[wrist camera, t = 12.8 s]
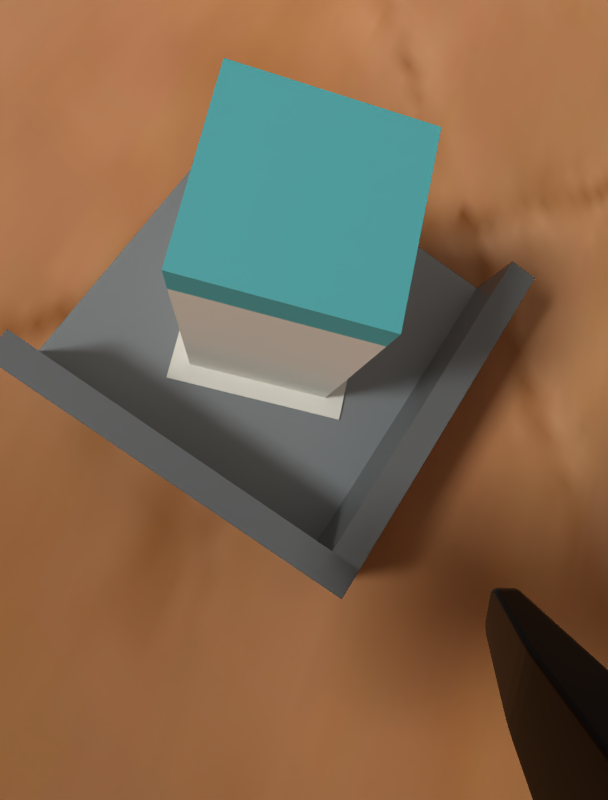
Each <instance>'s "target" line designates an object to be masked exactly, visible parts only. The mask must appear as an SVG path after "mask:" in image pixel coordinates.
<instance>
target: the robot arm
mask: <svg viewBox="0 0 608 800" xmlns="http://www.w3.org/2000/svg"><path fill="white" fill-rule="evenodd" d="M485 627H486V636H487V640H488V644H489V649H490V653H491V657H492V661H493V666H494V670H495V674H496V678H497V683H498V687H499V691H500V695H501V700H502V704H503V708H504V712H505V716H506V720H507V724H508V728H509V731H510V734H511V737H512V740H513V743H514V746H515V749H516V752H517V755H518V758H519V761H520V764H521V767H522V769H523V772H524V775H525V778H526V781H527V784H528V787H529V790H530V793H531V796H532V798H533V800H608V670H607V669H606V668H605V667H604V666H603V665H602V664H600V663H599V662H598V661H597V660H596V659H595V658H594V657H593V656H592V655H590V654H589V653H588V652H587V651H586V650H585V649H584V648H583V647H582V646H580V645H579V644H578V643H577V642H576V641H575V640H574V639H573V638H572V637H571V636H569V635H568V634H567V633H566V632H565V631H564V630H563V629H562V628H561V627H559V626H558V625H557V624H556V623H555V622H554V621H553V620H552V619H551V618H549V617H548V616H547V615H546V614H545V613H544V612H543V611H542V610H541V609H540V608H538V607H537V606H536V605H535V604H534V603H533V602H532V601H531V600H530V599H528V598H527V597H526V596H525V595H524V594H523V593H522V592H521V591H519V590H517V589H515V588H496V589H494V590H493V591H492V592H491V595H490V601H489V606H488V611H487V617H486V624H485Z"/></svg>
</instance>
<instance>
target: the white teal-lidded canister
mask: <svg viewBox="0 0 608 800" xmlns="http://www.w3.org/2000/svg"><path fill="white" fill-rule="evenodd" d="M440 131H441V127H439V126H436V125H433V124H430V123H427V122H424V121H421V120H417V119H414V118H411V117H408V116H405V115H402V114H399V113H395V112H392V111H389V110H386V109H383V108H380V107H377V106H373V105H370V104H367V103H364V102H361V101H358V100H354V99H351V98H348V97H345V96H342V95H339V94H336V93H332V92H329V91H326V90H323V89H320V88H317V87H314V86H310V85H307V84H304V83H301V82H298V81H295V80H292V79H288V78H285V77H282V76H279V75H276V74H273V73H269V72H266V71H263V70H260V69H257V68H254V67H251V66H247V65H244V64H241V63H238V62H235V61H232V60H229V59H225V58H224V59H223V62H222V65H221V69H220V72H219V76H218V79H217V83H216V86H215V89H214V93H213V96H212V100H211V103H210V106H209V110H208V113H207V117H206V120H205V123H204V127H203V130H202V134H201V137H200V140H199V144H198V147H197V151H196V154H195V157H194V161H193V164H192V168H191V171H190V174H189V178H188V181H187V185H186V188H185V191H184V195H183V198H182V202H181V205H180V208H179V212H178V215H177V219H176V222H175V225H174V229H173V232H172V236H171V239H170V243H169V246H168V249H167V253H166V256H165V260H164V263H163V266H162V274H163V277H164V280H165V284H166V287H167V290H168V294H169V297H170V300H171V303H172V307H173V310H174V313H175V317H176V320H177V323H178V327H179V330H180V333H181V337H182V340H183V343H184V347H185V350H186V353H187V356H188V360H189V363H190V364H191V365H195V366H199V367H203V368H207V369H211V370H215V371H219V372H223V373H227V374H231V375H235V376H239V377H243V378H247V379H251V380H255V381H259V382H263V383H267V384H271V385H275V386H279V387H283V388H287V389H291V390H295V391H299V392H303V393H307V394H311V395H315V396H319V397H323V398H326V397H327V396H328V395H329V394H330V393H332V392H333V391H334V390H335V389H336V388H338V387H339V386H340V385H341V384H342V383H344V382H345V381H346V380H347V379H348V378H349V377H351V376H352V375H353V374H354V373H355V372H357V371H358V370H359V369H360V368H361V367H363V366H364V365H365V364H366V363H367V362H369V361H370V360H371V359H372V358H373V357H375V356H376V355H377V354H378V353H379V352H380V351H382V350H383V349H384V348H385V347H386V346H388V345H389V344H390V343H391V342H392V341H394V340H395V339H396V338H397V337H398V336H400V335H401V332H402V327H403V321H404V316H405V311H406V306H407V301H408V296H409V291H410V285H411V280H412V275H413V270H414V265H415V260H416V255H417V250H418V244H419V239H420V234H421V229H422V224H423V219H424V214H425V208H426V203H427V198H428V193H429V188H430V183H431V178H432V172H433V167H434V162H435V157H436V152H437V147H438V142H439V136H440Z"/></svg>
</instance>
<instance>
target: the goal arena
mask: <svg viewBox="0 0 608 800" xmlns="http://www.w3.org/2000/svg"><path fill="white" fill-rule="evenodd" d="M190 171H191V170H190ZM190 171H189V172H188V173H187V174H186V176H185V177H184V178H183V179H182V180H181V182H180V183H179V184H178V185H177V186H176V188H175V189H174V190H173V191H172V192H171V194H170V195H169V196H168V197H167V198H166V199H165V201H164V202H163V203H162V204H161V205H160V207H159V208H158V209H157V210H156V211H155V213H154V214H153V215H152V216H151V217H150V219H149V220H148V221H147V222H146V223H145V225H144V226H143V227H142V228H141V229H140V230H139V232H138V233H137V234H136V235H135V236H134V238H133V239H132V240H131V241H130V242H129V244H128V245H127V246H126V247H125V248H124V250H123V251H122V252H121V253H120V254H119V255H118V257H117V258H116V259H115V260H114V261H113V263H112V264H111V265H110V266H109V267H108V269H107V270H106V271H105V272H104V273H103V275H102V276H101V277H100V278H99V279H98V281H97V282H96V283H95V284H94V285H93V286H92V288H91V289H90V290H89V291H88V292H87V294H86V295H85V296H84V297H83V298H82V300H81V301H80V302H79V303H78V304H77V306H76V307H75V308H74V309H73V310H72V312H71V313H70V314H69V315H68V316H67V317H66V319H65V320H64V321H63V322H62V323H61V325H60V326H59V327H58V328H57V329H56V331H55V332H54V333H53V334H52V335H51V337H50V338H49V339H48V340H47V341H46V343H45V344H44V345H43V346H42V347H41V348H40V350H39V351H38V350H37V349H35V348H34V347H32V346H31V345H29V344H28V343H26V342H25V341H24V340H22V339H21V338H19V337H18V336H16V335H15V334H13V333H12V332H10V331H9V330H6V331H5V332H4V334H3V335H2V336H1V337H0V367H1V368H2V369H4V370H5V371H6V372H8V373H9V374H11V375H12V376H14V377H15V378H17V379H18V380H20V381H21V382H23V383H24V384H26V385H27V386H29V387H30V388H32V389H33V390H34V391H36V392H37V393H39V394H40V395H42V396H43V397H45V398H46V399H48V400H49V401H51V402H52V403H54V404H55V405H57V406H58V407H59V408H61V409H62V410H64V411H65V412H67V413H68V414H70V415H71V416H73V417H74V418H76V419H77V420H79V421H80V422H82V423H83V424H85V425H86V426H87V427H89V428H90V429H92V430H93V431H95V432H96V433H98V434H99V435H101V436H102V437H104V438H105V439H107V440H108V441H110V442H111V443H112V444H114V445H115V446H117V447H118V448H120V449H121V450H123V451H124V452H126V453H127V454H129V455H130V456H132V457H133V458H135V459H136V460H138V461H139V462H140V463H142V464H143V465H145V466H146V467H148V468H149V469H151V470H152V471H154V472H155V473H157V474H158V475H160V476H161V477H163V478H164V479H165V480H167V481H168V482H170V483H171V484H173V485H174V486H176V487H177V488H179V489H180V490H182V491H183V492H185V493H186V494H188V495H189V496H191V497H192V498H193V499H195V500H196V501H198V502H199V503H201V504H202V505H204V506H205V507H207V508H208V509H210V510H211V511H213V512H214V513H216V514H217V515H218V516H220V517H221V518H223V519H224V520H226V521H227V522H229V523H230V524H232V525H233V526H235V527H236V528H238V529H239V530H241V531H242V532H244V533H245V534H246V535H248V536H249V537H251V538H252V539H254V540H255V541H257V542H258V543H260V544H261V545H263V546H264V547H266V548H267V549H269V550H270V551H271V552H273V553H274V554H276V555H277V556H279V557H280V558H282V559H283V560H285V561H286V562H288V563H289V564H291V565H292V566H294V567H295V568H297V569H298V570H299V571H301V572H302V573H304V574H305V575H307V576H308V577H310V578H311V579H313V580H314V581H316V582H317V583H319V584H320V585H322V586H323V587H324V588H326V589H327V590H329V591H330V592H332V593H333V594H335V595H336V596H338V597H339V598H341V599H342V598H343V596H344V595H345V593H346V591H347V590H348V588H349V586H350V585H351V583H352V581H353V580H354V578H355V576H356V575H357V573H358V571H359V570H360V568H361V566H362V565H363V563H364V561H365V560H366V558H367V556H368V555H369V553H370V551H371V550H372V548H373V546H374V545H375V543H376V541H377V540H378V538H379V537H380V535H381V533H382V532H383V530H384V528H385V527H386V525H387V523H388V522H389V520H390V518H391V517H392V515H393V513H394V512H395V510H396V508H397V507H398V505H399V503H400V502H401V500H402V498H403V497H404V495H405V493H406V492H407V490H408V488H409V487H410V485H411V483H412V482H413V480H414V478H415V477H416V475H417V473H418V472H419V470H420V468H421V467H422V465H423V463H424V462H425V460H426V458H427V457H428V455H429V453H430V452H431V450H432V448H433V447H434V445H435V443H436V442H437V440H438V439H439V437H440V435H441V434H442V432H443V430H444V429H445V427H446V425H447V424H448V422H449V420H450V419H451V417H452V415H453V414H454V412H455V410H456V409H457V407H458V405H459V404H460V402H461V400H462V399H463V397H464V395H465V394H466V392H467V390H468V389H469V387H470V385H471V384H472V382H473V380H474V379H475V377H476V375H477V374H478V372H479V370H480V369H481V367H482V365H483V364H484V362H485V360H486V359H487V357H488V355H489V354H490V352H491V350H492V349H493V347H494V345H495V344H496V342H497V341H498V339H499V337H500V336H501V334H502V332H503V331H504V329H505V327H506V326H507V324H508V322H509V321H510V319H511V317H512V316H513V314H514V312H515V311H516V309H517V307H518V306H519V304H520V302H521V301H522V299H523V297H524V296H525V294H526V292H527V291H528V289H529V287H530V286H531V284H532V282H533V281H534V279H535V277H533V276H532V275H530V274H529V273H528V272H526V271H525V270H523V269H522V268H521V267H519V266H518V265H516V264H515V263H514V262H511V263H509V264H508V265H507V266H506V267H504V268H503V269H502V270H500V271H499V272H498V273H496V274H495V275H494V276H493V277H491V278H490V279H489V280H487V281H486V282H485V283H483V284H482V285H481V286H479V287H478V288H476V287H474V286H473V285H471V284H470V283H469V282H467V281H466V280H464V279H463V278H462V277H460V276H459V275H457V274H456V273H455V272H453V271H452V270H450V269H449V268H448V267H446V266H445V265H443V264H442V263H441V262H439V261H438V260H436V259H435V258H434V257H432V256H431V255H429V254H428V253H427V252H425V251H424V250H422V249H421V248H420V247H418V250H417V255H416V260H415V265H414V270H413V275H412V280H411V285H410V291H409V296H408V301H407V306H406V311H405V316H404V321H403V327H402V332H401V335H400V336H398V337H397V338H396V339H395V340H394V341H392V342H391V343H390V344H389V345H388V346H386V347H385V348H384V349H383V350H382V351H380V352H379V353H378V354H377V355H376V356H375V357H373V358H372V359H371V360H370V361H369V362H367V363H366V364H365V365H364V366H363V367H361V368H360V369H359V370H358V371H357V372H355V373H354V374H353V375H352V376H351V377H349V378H348V379H347V380H346V381H345V382H344V383H342V384H341V385H340V386H339V387H338V388H336V389H335V390H334V391H333V392H332V393H330V394H329V395H328V396H327V397H326V398H323V397H319V396H315V395H311V394H307V393H303V392H299V391H295V390H291V389H287V388H283V387H279V386H275V385H271V384H267V383H263V382H259V381H255V380H251V379H247V378H243V377H239V376H235V375H231V374H227V373H223V372H219V371H215V370H211V369H207V368H203V367H199V366H195V365H191V364H190V363H189V360H188V356H187V353H186V350H185V347H184V343H183V340H182V337H181V333H180V330H179V327H178V323H177V320H176V317H175V313H174V310H173V307H172V303H171V300H170V297H169V294H168V290H167V287H166V284H165V280H164V277H163V274H162V266H163V263H164V260H165V256H166V253H167V249H168V246H169V243H170V239H171V236H172V232H173V229H174V225H175V222H176V219H177V215H178V212H179V208H180V205H181V202H182V198H183V195H184V191H185V188H186V185H187V181H188V178H189V174H190Z"/></svg>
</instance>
